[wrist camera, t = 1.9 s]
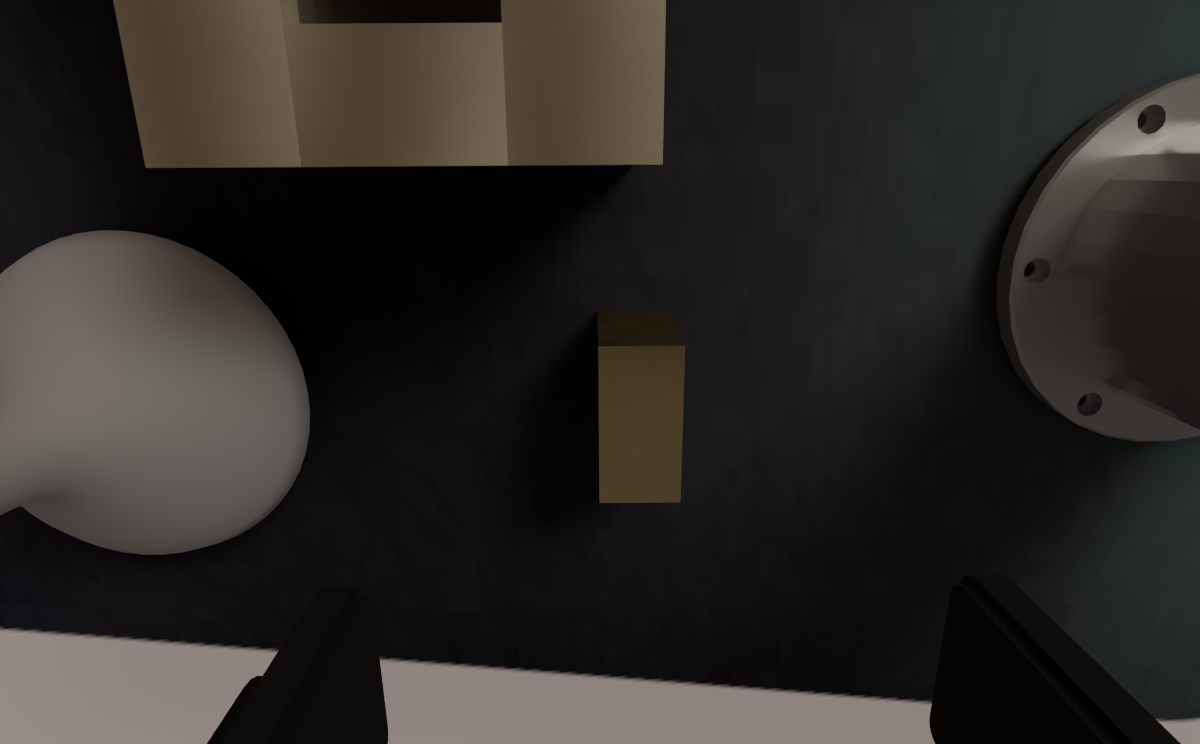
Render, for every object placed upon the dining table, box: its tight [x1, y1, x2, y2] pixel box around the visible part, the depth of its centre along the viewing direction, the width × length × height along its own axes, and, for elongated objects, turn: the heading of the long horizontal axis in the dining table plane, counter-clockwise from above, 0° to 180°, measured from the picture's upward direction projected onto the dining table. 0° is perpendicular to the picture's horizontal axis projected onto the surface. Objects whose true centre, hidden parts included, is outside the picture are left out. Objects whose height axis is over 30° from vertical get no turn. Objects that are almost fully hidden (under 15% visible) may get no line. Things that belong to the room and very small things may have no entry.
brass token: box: [597, 311, 685, 503], centre depth 23 cm, size 2×5×5 cm, turn 1°
